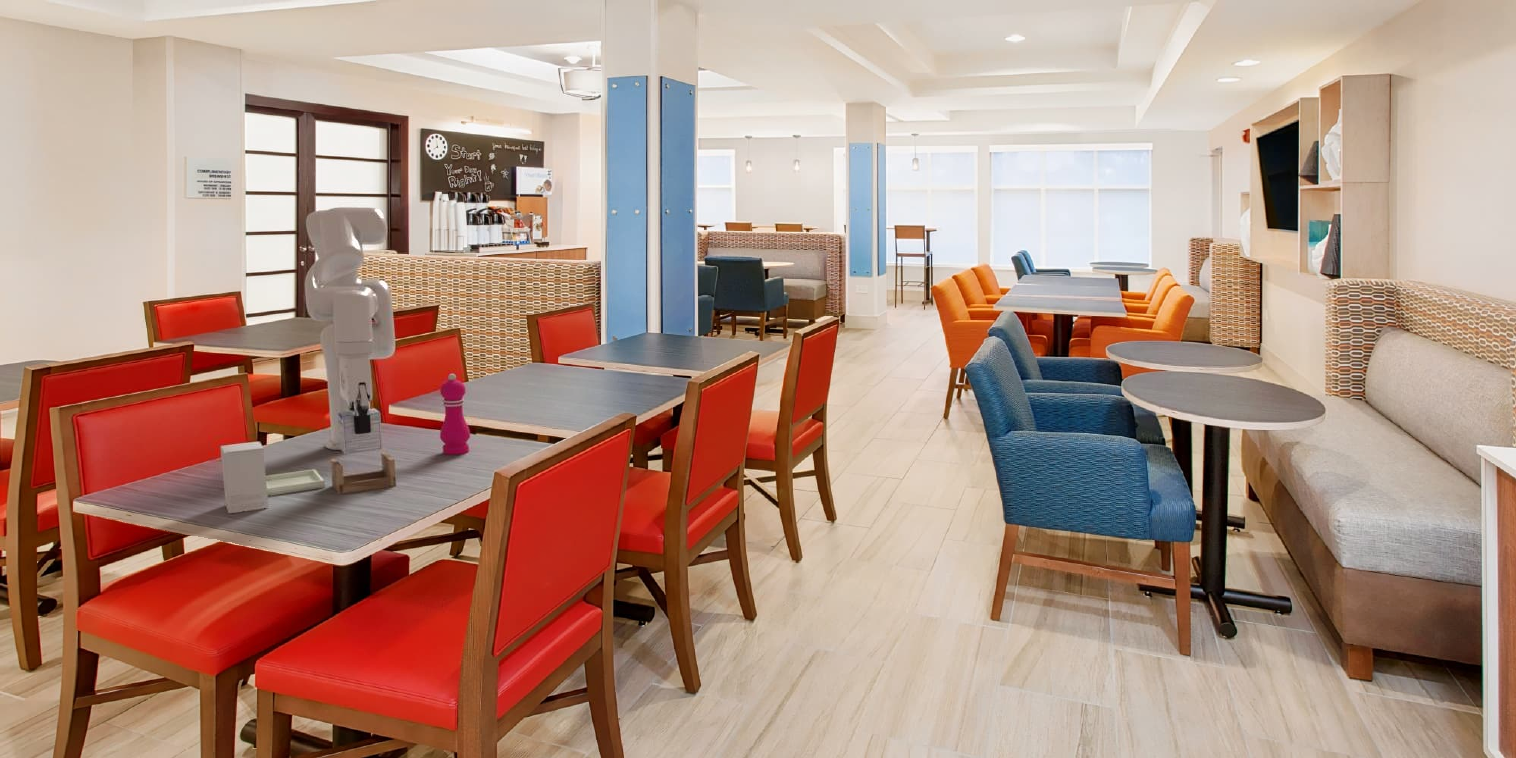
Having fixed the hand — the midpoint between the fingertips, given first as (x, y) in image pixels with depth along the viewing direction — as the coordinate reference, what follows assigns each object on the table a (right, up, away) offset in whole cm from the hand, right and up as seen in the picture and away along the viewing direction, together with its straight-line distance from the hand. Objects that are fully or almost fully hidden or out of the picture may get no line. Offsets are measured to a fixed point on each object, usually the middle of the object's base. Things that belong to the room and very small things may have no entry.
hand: (360, 429), depth 205 cm
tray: (-16, -12, +1) cm, 20 cm away
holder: (0, -12, +2) cm, 12 cm away
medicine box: (0, -5, +1) cm, 5 cm away
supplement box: (-17, -15, -13) cm, 27 cm away
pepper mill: (+11, -8, +32) cm, 34 cm away
